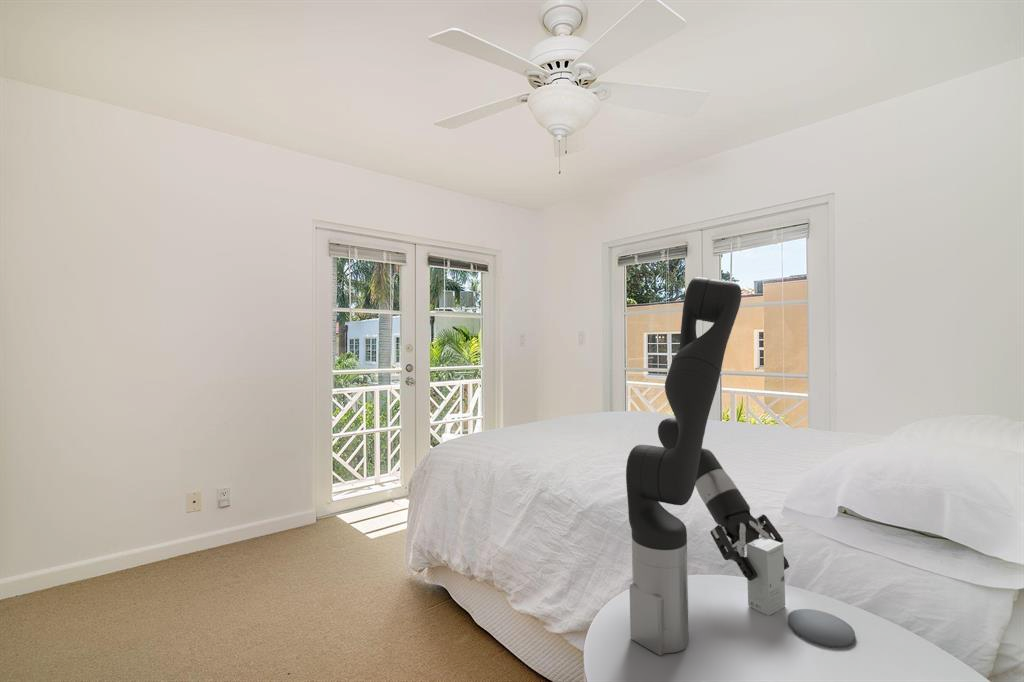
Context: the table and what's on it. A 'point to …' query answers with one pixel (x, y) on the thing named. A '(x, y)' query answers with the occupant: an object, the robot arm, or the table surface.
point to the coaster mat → (821, 628)
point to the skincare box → (766, 576)
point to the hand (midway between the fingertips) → (770, 573)
